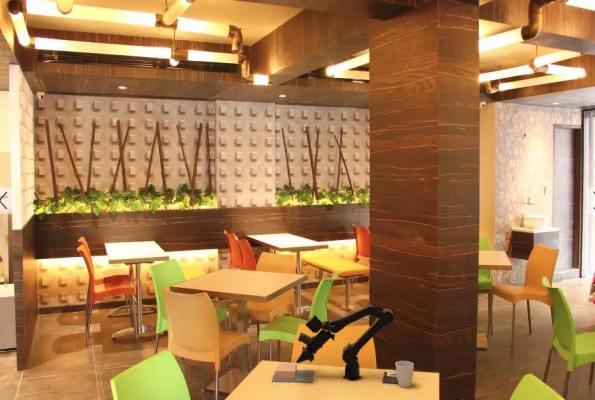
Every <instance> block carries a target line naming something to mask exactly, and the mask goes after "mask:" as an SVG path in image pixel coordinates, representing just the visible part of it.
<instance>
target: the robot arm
mask: <svg viewBox="0 0 595 400" xmlns="http://www.w3.org/2000/svg"><path fill="white" fill-rule="evenodd" d="M368 316H373V317H374V318H376V319H375V321H374V322H373V323H372V324H371V325H370V326H369V327H368V329H366V330H365V331H364V332H363V333H362V334H361V335H360V337H359V338H357V339H356V340H355V341H354V342H353V343H351V342H347V344H346V345H345V346H344V347H343V349H342V351H341V358H342V361H343V362H344V363H345V368H344V375H343V378H344V379H347V380H350V381H355V380H359V379H362V378H363V377H362V376H361V375H360V372H361V371H360V362H359V357H358V355H359V353H360V350H361V349H362V348H364V346H366V344H368V343H369V341H370V340H372V338H374V336H375V335H377V333H378V332H379V331H380V330H381V329H383V328H385V327H387V326H388V325H390V324H391V323H392V322H394V319H395V318H394V314H393V311H392V310H391V309H390V308H382V307H378V306H374V305H372V304H367V305H365V307H362V308H359V309H357V310H356V311H352V312H351V313H349V314H346V315H343V316H338V317H334V318H331V319H330V320H327V321H326V320H325V321H322V320H321V319H320V318H319V317H318V315H317V314H314V315H313V316H312V317H310V318H308V320H307V321H306V322H305V324H304V326H306V328H308V330H309V331H311V332H312V333H313V334H314V333H315V334H316V335H313V336H309V335H308V334H306V333H304V332H300V334H299V336H298V338H297V341H298V342H300V343H303V344H304V346H302V348H301V354H300V355H299V356H298V358H297V360H296V361H295V362H296V364H300V363H302V362H306V361H309V362H310V363H312V362H313V361H314V360H315V355H316V354H317V352H318V351H319V350H320V349H322V348H323V346H324V345H326V343H327V342H328V341H329V340H332V341H333V342H334V341H335V338H336V334H337V333H339V332H340V331H342V330H344V329H345V328H346V327H347V326H349V325H350V324H352V323H354V322H357V321H359V320H361V319H363V318H365V317H368Z"/></svg>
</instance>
